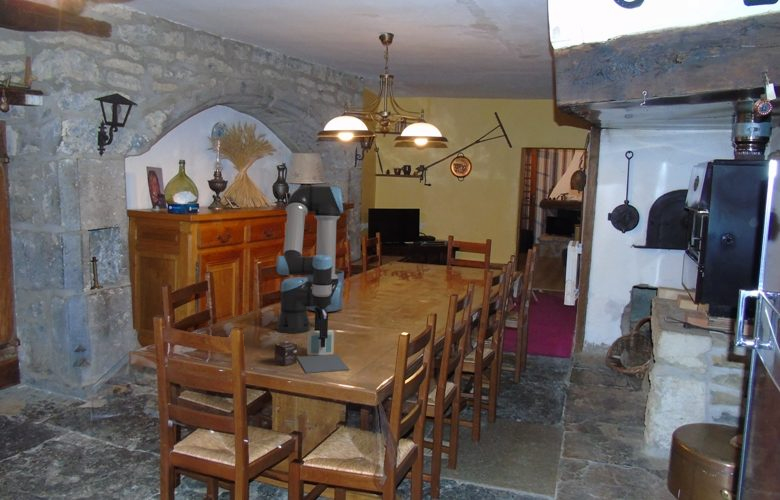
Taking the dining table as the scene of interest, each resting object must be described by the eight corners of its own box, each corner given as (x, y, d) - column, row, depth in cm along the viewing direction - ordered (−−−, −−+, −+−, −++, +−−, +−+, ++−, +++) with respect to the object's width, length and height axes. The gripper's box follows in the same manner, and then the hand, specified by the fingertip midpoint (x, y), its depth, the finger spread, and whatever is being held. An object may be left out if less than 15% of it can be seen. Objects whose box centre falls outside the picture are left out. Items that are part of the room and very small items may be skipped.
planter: (323, 316, 306) (324, 276, 303) (298, 309, 318) (298, 270, 316) (350, 310, 320) (351, 272, 317) (325, 303, 332) (326, 267, 330)
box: (284, 366, 228) (284, 347, 227) (273, 362, 232) (274, 343, 231) (296, 363, 233) (297, 344, 232) (286, 359, 237) (286, 340, 236)
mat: (297, 358, 239) (297, 357, 238) (337, 355, 244) (337, 354, 244) (306, 373, 222) (306, 372, 222) (349, 370, 227) (349, 369, 227)
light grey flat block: (307, 353, 245) (307, 331, 244) (331, 351, 249) (332, 329, 247) (308, 355, 242) (309, 333, 241) (333, 354, 246) (334, 332, 244)
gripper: (307, 290, 249) (306, 346, 252) (317, 299, 232) (316, 359, 235) (325, 290, 252) (324, 345, 255) (336, 298, 235) (335, 358, 237)
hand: (320, 352), depth 245 cm, fingers open, 5 cm apart
